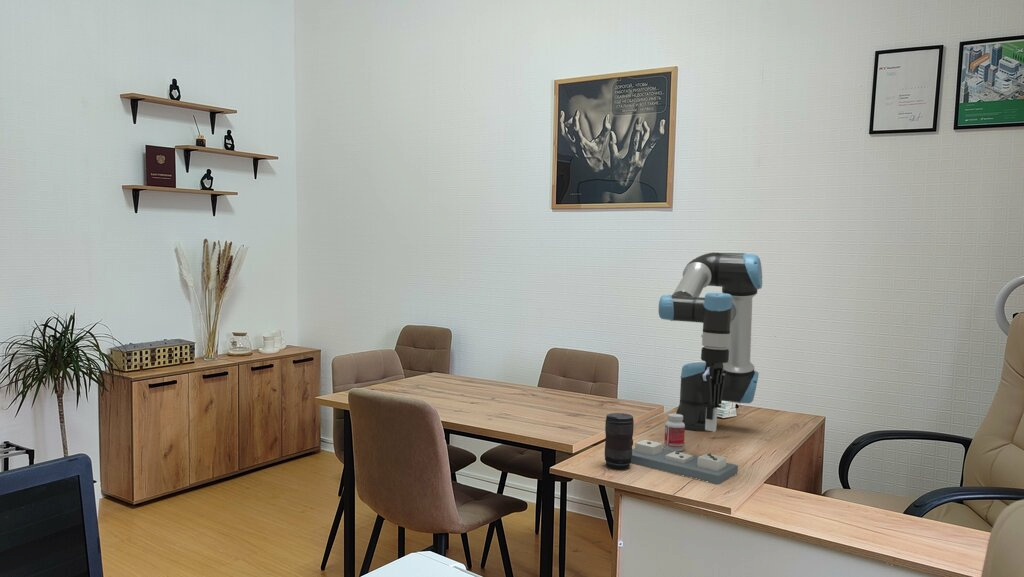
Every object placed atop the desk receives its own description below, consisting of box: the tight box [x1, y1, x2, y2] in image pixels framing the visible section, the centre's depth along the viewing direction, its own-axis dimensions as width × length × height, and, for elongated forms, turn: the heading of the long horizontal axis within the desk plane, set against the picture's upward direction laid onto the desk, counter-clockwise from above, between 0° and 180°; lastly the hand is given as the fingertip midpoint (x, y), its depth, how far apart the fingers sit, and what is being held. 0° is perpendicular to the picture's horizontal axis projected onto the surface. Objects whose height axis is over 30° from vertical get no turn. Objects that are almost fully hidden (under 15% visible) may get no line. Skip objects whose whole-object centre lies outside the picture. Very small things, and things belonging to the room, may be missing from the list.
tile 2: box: [665, 451, 693, 464], centre depth 212 cm, size 6×6×4 cm
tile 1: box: [634, 439, 664, 456], centre depth 218 cm, size 6×6×4 cm
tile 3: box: [697, 452, 727, 471], centre depth 206 cm, size 6×6×4 cm
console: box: [630, 447, 739, 485], centre depth 212 cm, size 14×30×2 cm, turn 51°
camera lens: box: [604, 412, 635, 471], centre depth 210 cm, size 8×8×15 cm
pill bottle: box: [663, 413, 686, 452], centre depth 231 cm, size 6×6×11 cm
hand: (710, 430), depth 206 cm, fingers closed
